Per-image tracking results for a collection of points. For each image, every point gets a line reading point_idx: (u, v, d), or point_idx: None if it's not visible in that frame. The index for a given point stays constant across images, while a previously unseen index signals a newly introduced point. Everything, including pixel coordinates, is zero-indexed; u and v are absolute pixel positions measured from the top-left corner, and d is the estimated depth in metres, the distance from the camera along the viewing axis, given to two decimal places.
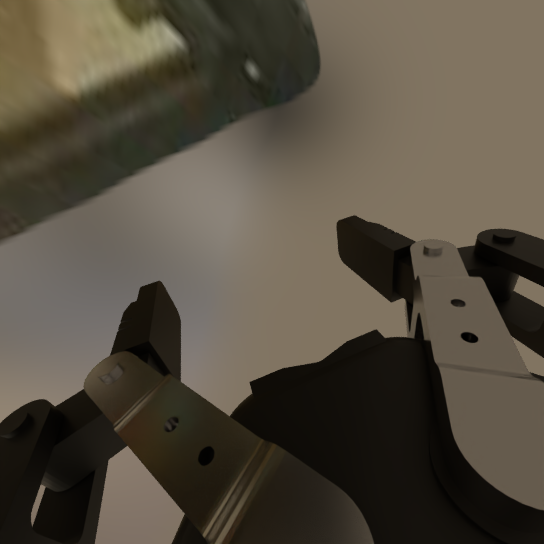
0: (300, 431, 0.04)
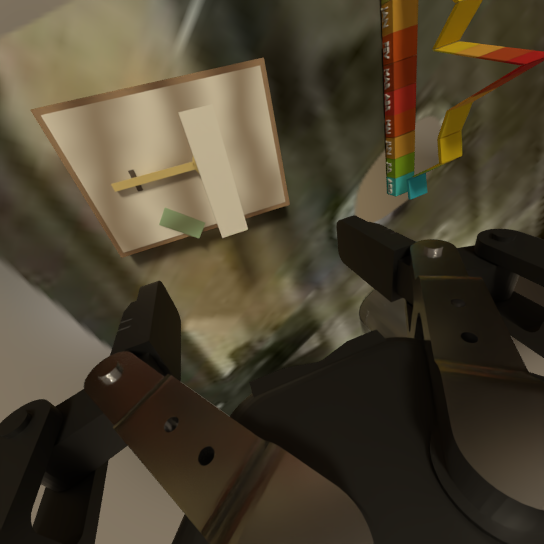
0: (300, 431, 0.04)
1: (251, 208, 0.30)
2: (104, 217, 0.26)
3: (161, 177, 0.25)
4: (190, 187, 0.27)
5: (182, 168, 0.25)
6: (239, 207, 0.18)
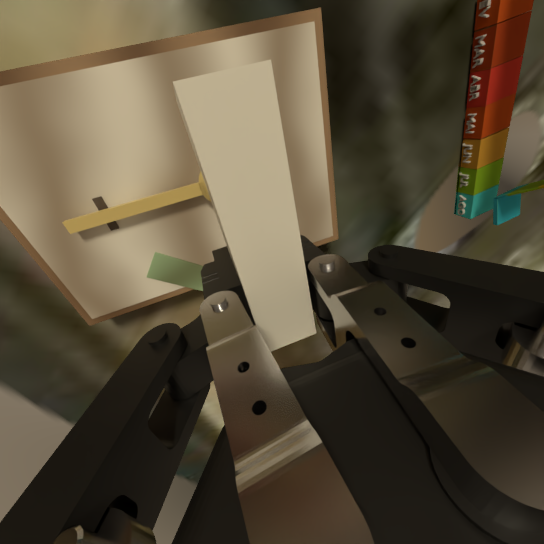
0: None
1: None
2: (57, 271, 0.16)
3: (148, 208, 0.15)
4: (194, 220, 0.17)
5: (182, 193, 0.15)
6: (305, 298, 0.08)
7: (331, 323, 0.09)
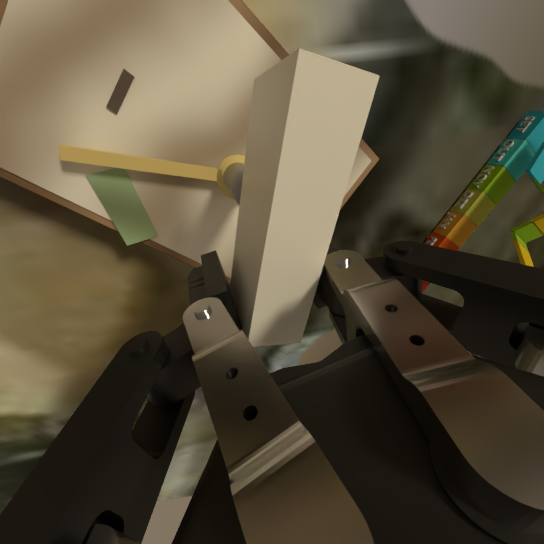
0: None
1: (228, 271, 0.20)
2: None
3: (157, 171, 0.14)
4: (186, 180, 0.16)
5: (198, 171, 0.15)
6: (308, 302, 0.08)
7: (344, 319, 0.09)
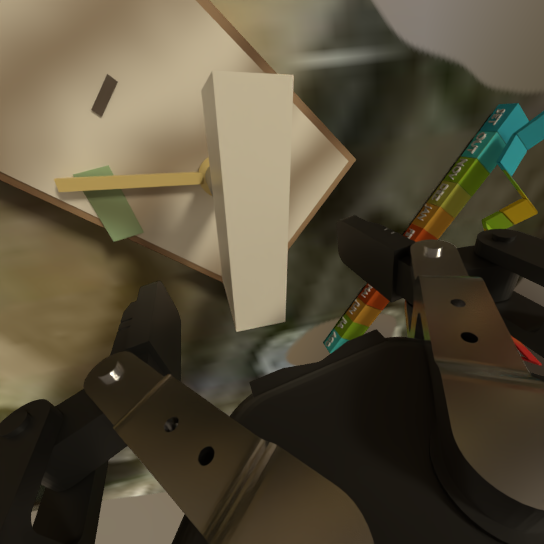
0: (300, 431, 0.04)
1: (213, 266, 0.20)
2: None
3: (144, 185, 0.15)
4: None
5: (181, 178, 0.16)
6: (282, 285, 0.09)
7: None
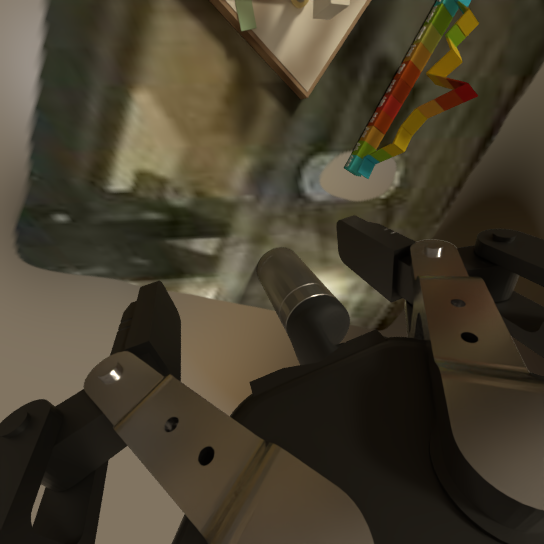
0: (300, 431, 0.04)
1: (288, 65, 0.35)
2: None
3: None
4: None
5: None
6: None
7: None
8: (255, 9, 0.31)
